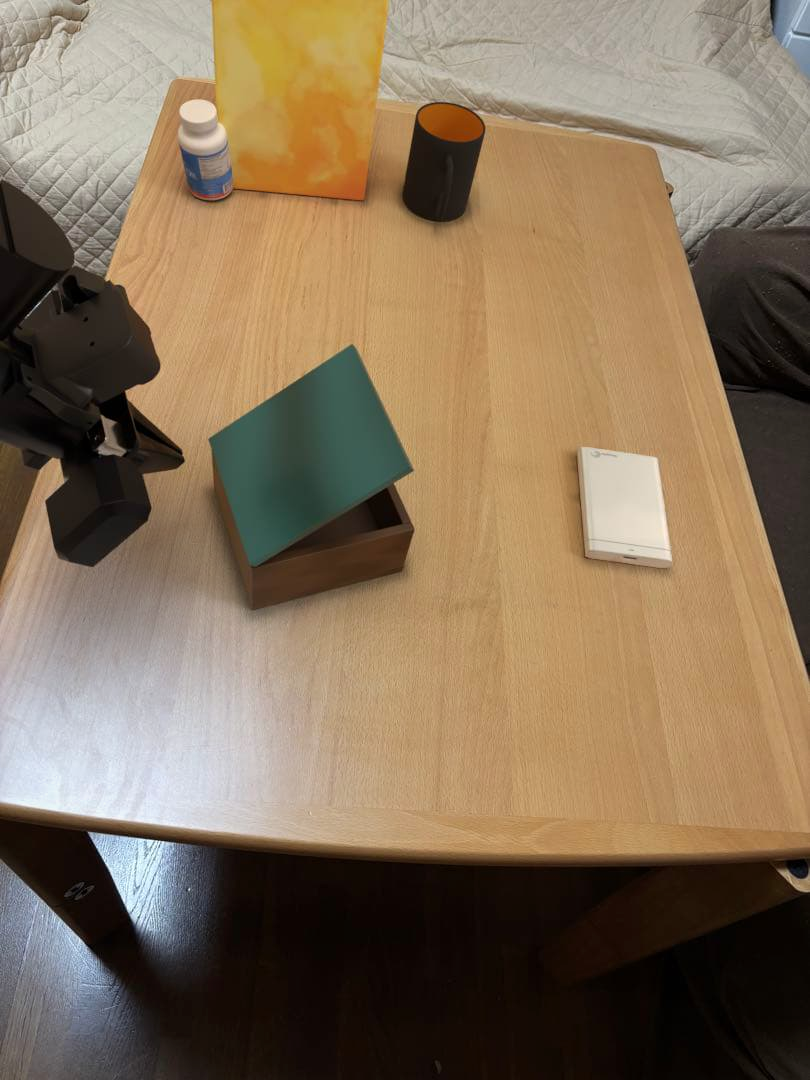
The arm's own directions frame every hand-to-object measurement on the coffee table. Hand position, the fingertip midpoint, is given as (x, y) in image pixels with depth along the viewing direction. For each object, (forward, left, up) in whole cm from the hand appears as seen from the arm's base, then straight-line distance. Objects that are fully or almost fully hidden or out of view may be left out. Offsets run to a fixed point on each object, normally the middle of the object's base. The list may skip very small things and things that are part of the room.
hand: (179, 459), depth 57 cm
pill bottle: (-2, +51, -13) cm, 53 cm away
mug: (+25, +52, -14) cm, 60 cm away
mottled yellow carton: (+8, +58, -14) cm, 60 cm away
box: (+10, +3, -14) cm, 17 cm away
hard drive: (+40, +7, -14) cm, 43 cm away
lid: (+9, +3, -3) cm, 10 cm away
